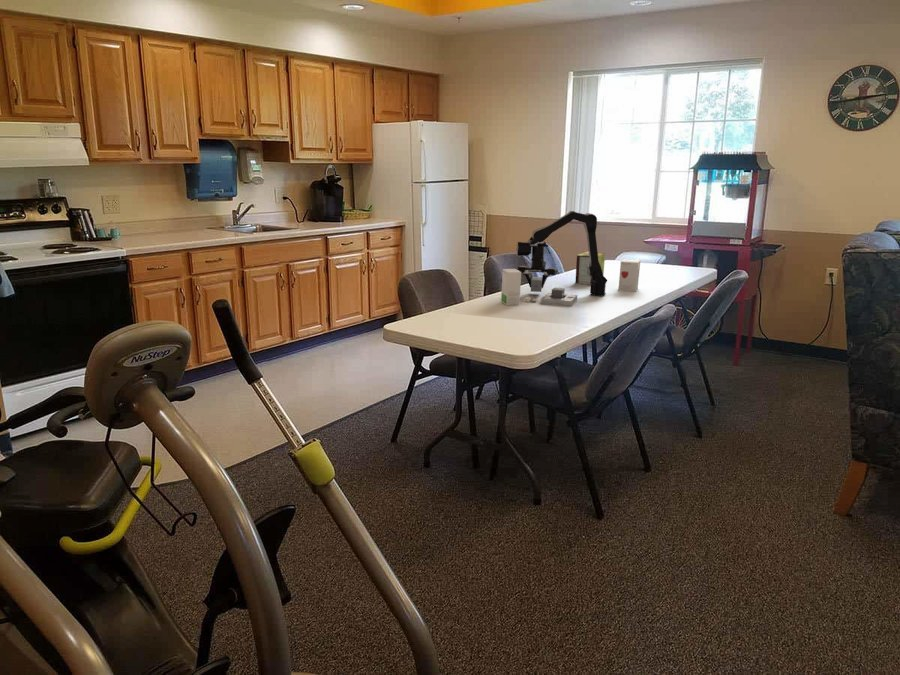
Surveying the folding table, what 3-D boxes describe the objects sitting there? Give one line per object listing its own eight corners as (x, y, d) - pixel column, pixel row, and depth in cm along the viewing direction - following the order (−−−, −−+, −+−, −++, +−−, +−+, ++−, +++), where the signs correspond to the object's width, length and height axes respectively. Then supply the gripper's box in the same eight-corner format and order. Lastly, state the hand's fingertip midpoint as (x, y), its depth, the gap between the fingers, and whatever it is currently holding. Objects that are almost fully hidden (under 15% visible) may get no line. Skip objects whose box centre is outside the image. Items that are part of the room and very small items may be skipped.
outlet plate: (577, 300, 305) (577, 294, 304) (571, 306, 293) (571, 300, 292) (548, 297, 310) (548, 292, 309) (540, 303, 298) (541, 298, 297)
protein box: (603, 281, 354) (605, 252, 349) (593, 285, 341) (595, 256, 337) (585, 279, 359) (586, 251, 355) (574, 283, 347) (576, 254, 342)
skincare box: (500, 302, 301) (501, 268, 297) (514, 301, 302) (515, 268, 298) (506, 305, 293) (507, 271, 289) (520, 305, 295) (521, 271, 290)
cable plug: (537, 301, 303) (537, 297, 302) (535, 302, 300) (535, 299, 299) (526, 300, 304) (526, 297, 304) (524, 301, 302) (524, 298, 301)
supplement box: (617, 290, 329) (620, 261, 325) (620, 287, 337) (622, 258, 333) (636, 291, 326) (638, 262, 322) (638, 288, 334) (640, 259, 330)
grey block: (563, 301, 304) (564, 287, 302) (561, 303, 300) (562, 289, 298) (553, 300, 306) (554, 286, 304) (551, 302, 301) (551, 288, 300)
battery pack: (541, 288, 320) (542, 277, 319) (541, 291, 312) (541, 280, 310) (531, 287, 321) (532, 276, 320) (530, 291, 312) (531, 280, 311)
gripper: (560, 254, 316) (559, 286, 320) (523, 252, 322) (522, 283, 327) (555, 257, 306) (553, 290, 310) (517, 255, 312) (516, 287, 317)
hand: (536, 287), depth 316 cm, fingers closed on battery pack, 5 cm apart
